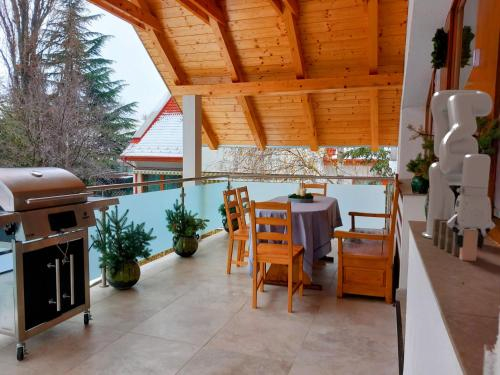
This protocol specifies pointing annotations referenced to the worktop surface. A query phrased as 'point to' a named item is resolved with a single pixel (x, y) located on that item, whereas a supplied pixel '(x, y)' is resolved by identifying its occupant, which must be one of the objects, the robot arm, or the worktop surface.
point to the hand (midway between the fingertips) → (468, 246)
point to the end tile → (469, 245)
